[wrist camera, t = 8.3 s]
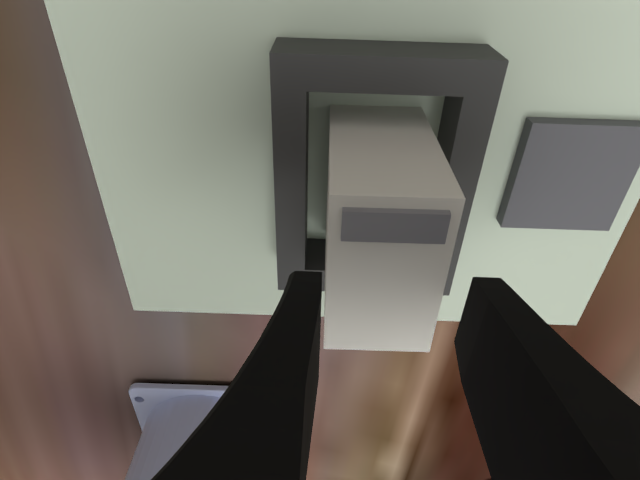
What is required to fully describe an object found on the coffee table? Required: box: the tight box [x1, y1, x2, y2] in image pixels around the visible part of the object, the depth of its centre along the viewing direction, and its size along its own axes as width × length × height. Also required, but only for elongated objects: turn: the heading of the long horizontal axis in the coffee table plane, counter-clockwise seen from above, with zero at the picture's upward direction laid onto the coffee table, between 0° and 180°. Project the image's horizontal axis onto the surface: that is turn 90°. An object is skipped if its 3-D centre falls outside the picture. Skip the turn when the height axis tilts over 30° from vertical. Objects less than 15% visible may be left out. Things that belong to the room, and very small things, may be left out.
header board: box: [44, 0, 640, 325], centre depth 16 cm, size 15×20×3 cm
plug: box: [324, 105, 466, 352], centre depth 14 cm, size 5×3×6 cm, turn 179°
